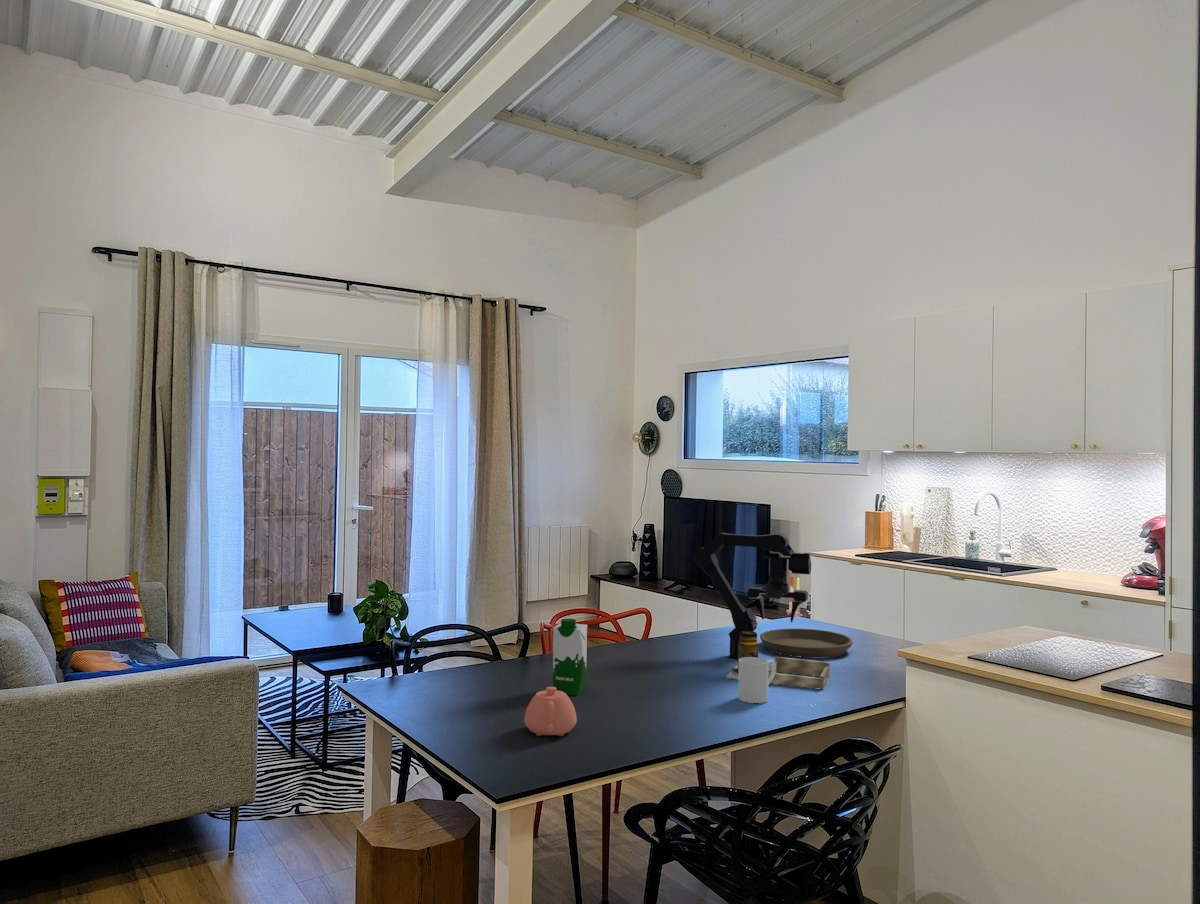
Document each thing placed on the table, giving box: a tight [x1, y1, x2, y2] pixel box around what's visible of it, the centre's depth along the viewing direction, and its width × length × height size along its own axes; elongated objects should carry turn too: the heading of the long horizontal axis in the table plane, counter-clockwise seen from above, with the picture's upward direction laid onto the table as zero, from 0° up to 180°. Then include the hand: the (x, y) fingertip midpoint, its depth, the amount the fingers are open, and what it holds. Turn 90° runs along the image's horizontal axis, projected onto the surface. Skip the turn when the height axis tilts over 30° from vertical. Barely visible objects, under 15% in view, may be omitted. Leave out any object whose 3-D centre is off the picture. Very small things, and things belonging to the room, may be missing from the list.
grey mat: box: [725, 665, 739, 680], centre depth 246 cm, size 10×14×1 cm
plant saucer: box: [759, 628, 854, 658], centre depth 281 cm, size 31×31×5 cm
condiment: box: [728, 631, 759, 675], centre depth 246 cm, size 7×8×12 cm
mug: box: [737, 657, 776, 704], centre depth 220 cm, size 12×8×10 cm, turn 125°
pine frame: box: [768, 656, 831, 690], centre depth 240 cm, size 16×15×4 cm
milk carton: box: [552, 618, 588, 697], centre depth 224 cm, size 9×9×20 cm
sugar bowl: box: [523, 686, 578, 737], centre depth 190 cm, size 12×14×10 cm
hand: (777, 620), depth 263 cm, fingers open, 9 cm apart
